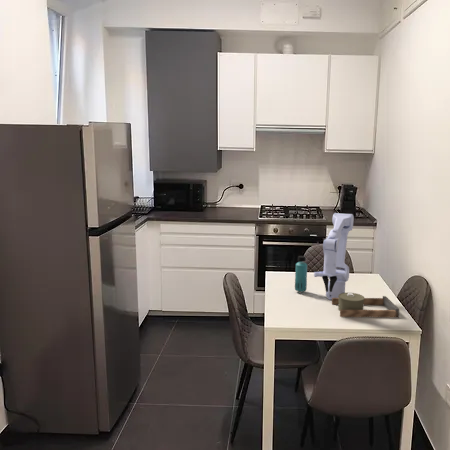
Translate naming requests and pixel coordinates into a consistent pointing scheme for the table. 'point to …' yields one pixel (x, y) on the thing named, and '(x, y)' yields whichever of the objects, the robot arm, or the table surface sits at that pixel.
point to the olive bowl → (350, 301)
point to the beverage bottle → (301, 274)
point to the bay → (391, 312)
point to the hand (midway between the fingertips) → (328, 291)
